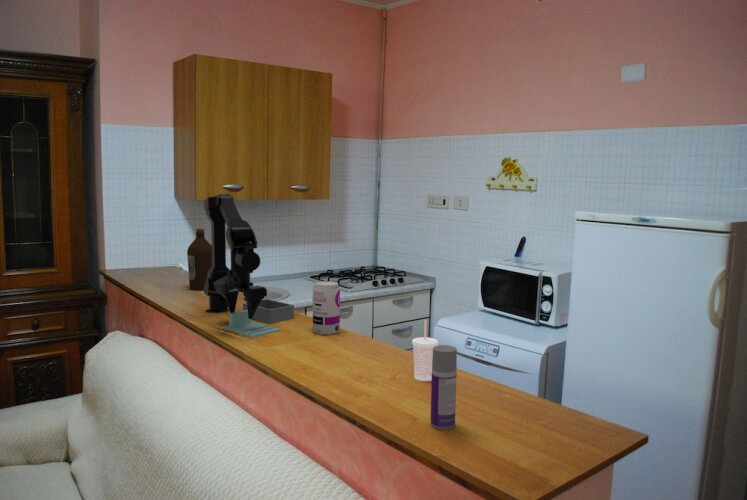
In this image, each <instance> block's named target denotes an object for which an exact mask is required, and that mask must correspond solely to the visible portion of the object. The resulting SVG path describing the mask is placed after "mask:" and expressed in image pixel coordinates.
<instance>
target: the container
mask: <svg viewBox="0 0 747 500" xmlns="http://www.w3.org/2000/svg"><path fill="white" fill-rule="evenodd" d="M457 352H458V351H457V347H455V346H452V345H447V344H445V345H444V344H442V345H441V344H440V345H439V344H438V345H437V346H435V347H433V358H432V380H430V381H431V384H430V385H431V386H430V389H431V390H430V392H431V393H430V394H431V395H430V425H431V427H433V428H434V429H438V430H443V431H445V430H447V431H448V430H451V429H454V428H455V426H456V405H457V404H456V403H457V367H458V366H457V358H458V357H457V355H458V354H457Z"/></svg>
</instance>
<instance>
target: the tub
mask: <svg viewBox="0 0 747 500" xmlns="http://www.w3.org/2000/svg"><path fill="white" fill-rule="evenodd" d="M245 310H248V309H247V302H244V303H242V311H245ZM293 319H295V305H294V304H291V303H288V302H287V303H286V302H282V301H278V300H273V299H268V298H264V299H262V300H261V302H260V304H259V306H258V308H257V310H256V312H255V314H254V316H253V318H252V319H251V320H255V321H259V322H262V323H264V324H268V325H270V324H271V325H272V324H276V323H279V322H280V323H281V322H285V321H288V320H293Z"/></svg>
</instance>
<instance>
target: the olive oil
mask: <svg viewBox="0 0 747 500" xmlns="http://www.w3.org/2000/svg"><path fill="white" fill-rule="evenodd" d="M186 253H187V254H186V256H187V268H188V283H189V284H188V285H189V290H191V291H197V292H198V291H200V292H202V291H203V292H204V285H205V282H206V279H207V274H208V271H209V269H210V268H211V266H212V243H210V242H209V241H208V240H207V239H206V238H205V229H204V228H196V229H195V239H194V240H193V241H192V242H191V243H190V244H189V246H188V247H187V251H186Z"/></svg>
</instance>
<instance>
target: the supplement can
mask: <svg viewBox="0 0 747 500" xmlns="http://www.w3.org/2000/svg"><path fill="white" fill-rule="evenodd" d="M340 330H341V288H340V285H339V283H338V281H337V282H336V281H330V280H329V281H326V280H324V281H323V280H320V281H316V282H314V285H313V286H312V331H313V332H314V333H315V334H317V335H325V336H328V335H329V336H330V335H335V334H337V333H338V332H339V331H340Z"/></svg>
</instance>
